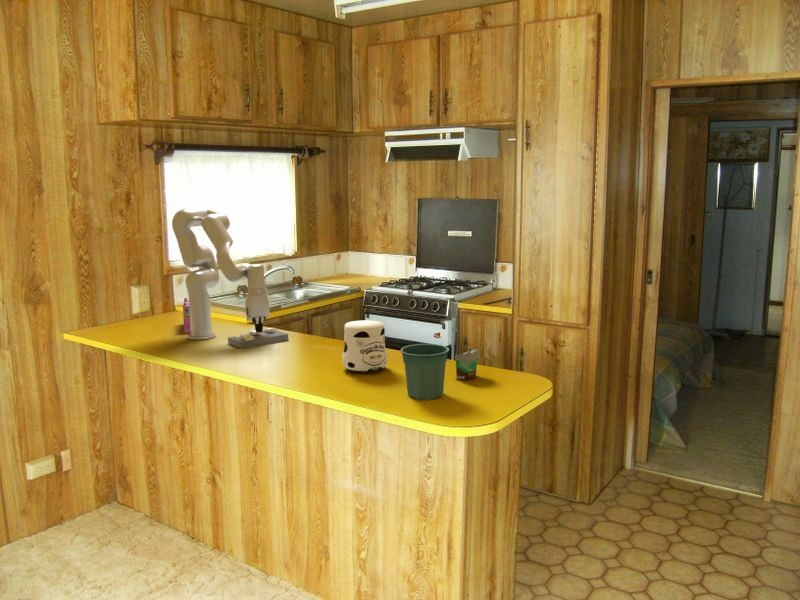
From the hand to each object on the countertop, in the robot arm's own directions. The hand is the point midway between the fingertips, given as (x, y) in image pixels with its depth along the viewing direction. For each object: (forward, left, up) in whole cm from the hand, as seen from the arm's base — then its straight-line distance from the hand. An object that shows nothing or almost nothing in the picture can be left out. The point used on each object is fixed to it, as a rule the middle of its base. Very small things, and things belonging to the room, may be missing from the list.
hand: (259, 331), depth 321 cm
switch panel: (0, 0, -5) cm, 5 cm away
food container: (+104, +30, -5) cm, 108 cm away
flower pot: (+108, +4, -5) cm, 108 cm away
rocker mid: (-3, 0, -1) cm, 3 cm away
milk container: (+69, +8, -5) cm, 69 cm away
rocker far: (-3, +7, -1) cm, 8 cm away
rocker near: (+3, -8, -1) cm, 8 cm away
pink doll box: (-49, -10, -5) cm, 51 cm away
